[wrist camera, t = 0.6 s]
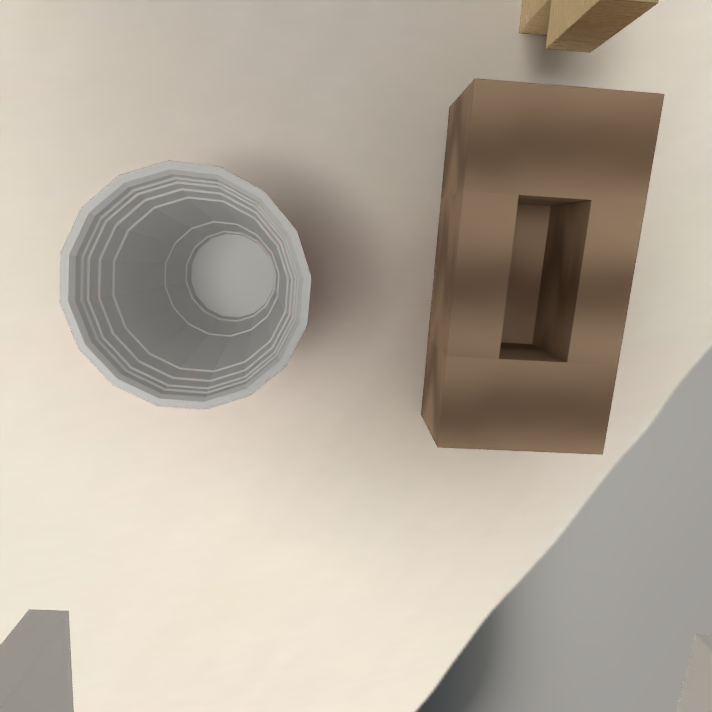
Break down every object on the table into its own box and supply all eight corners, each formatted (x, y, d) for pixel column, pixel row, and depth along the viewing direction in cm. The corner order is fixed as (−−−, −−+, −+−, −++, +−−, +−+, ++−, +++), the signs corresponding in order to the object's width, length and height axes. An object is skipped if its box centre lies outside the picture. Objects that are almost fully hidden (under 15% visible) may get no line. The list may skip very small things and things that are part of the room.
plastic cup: (352, 262, 35) (362, 273, 23) (251, 386, 36) (212, 456, 24) (217, 149, 33) (153, 98, 21) (117, 284, 34) (5, 307, 23)
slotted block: (449, 107, 33) (474, 78, 27) (606, 119, 33) (664, 94, 28) (421, 414, 37) (437, 447, 31) (560, 421, 38) (602, 454, 32)
